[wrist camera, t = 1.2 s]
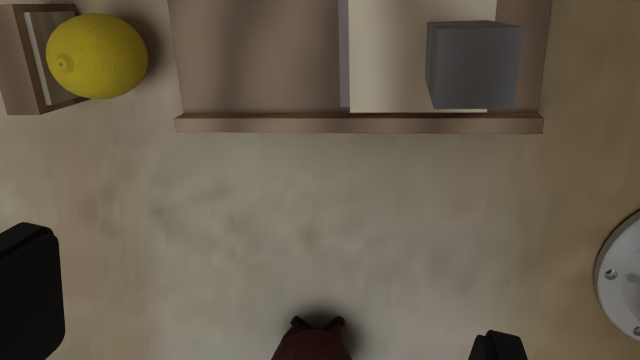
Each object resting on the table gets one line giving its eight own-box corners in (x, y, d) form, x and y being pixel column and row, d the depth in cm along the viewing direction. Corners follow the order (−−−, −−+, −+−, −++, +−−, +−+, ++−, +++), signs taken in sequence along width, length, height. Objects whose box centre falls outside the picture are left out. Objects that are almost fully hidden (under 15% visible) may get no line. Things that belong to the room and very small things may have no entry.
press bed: (552, -54, 28) (568, -59, 26) (530, 123, 32) (542, 133, 29) (170, -32, 32) (150, -35, 30) (192, 122, 36) (175, 132, 34)
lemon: (88, 19, 35) (3, 23, 27) (155, 6, 33) (85, 7, 26) (111, 92, 36) (38, 115, 29) (175, 82, 35) (116, 103, 28)
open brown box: (79, 3, 34) (17, 3, 29) (98, 98, 37) (45, 114, 31) (44, 5, 35) (-23, 5, 29) (66, 98, 37) (7, 114, 32)
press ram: (485, -16, 28) (540, -28, 17) (476, 99, 31) (519, 153, 20) (345, -9, 30) (312, -17, 18) (347, 99, 32) (318, 151, 21)
